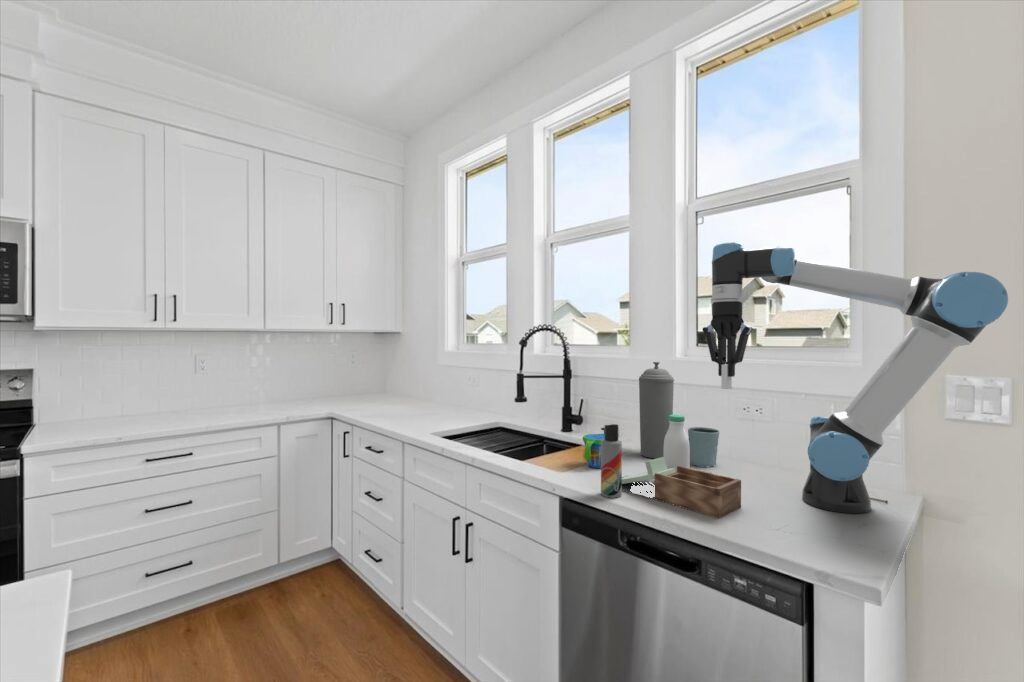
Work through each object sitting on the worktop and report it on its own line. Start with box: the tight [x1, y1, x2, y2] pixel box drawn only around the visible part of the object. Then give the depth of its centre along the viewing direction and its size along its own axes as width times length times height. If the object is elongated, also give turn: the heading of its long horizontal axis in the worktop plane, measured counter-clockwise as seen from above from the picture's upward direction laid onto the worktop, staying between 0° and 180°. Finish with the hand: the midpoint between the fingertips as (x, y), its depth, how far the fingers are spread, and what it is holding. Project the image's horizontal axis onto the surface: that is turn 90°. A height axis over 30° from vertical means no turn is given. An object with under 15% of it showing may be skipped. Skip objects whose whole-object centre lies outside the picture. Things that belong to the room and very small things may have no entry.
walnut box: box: [654, 466, 742, 519], centre depth 129 cm, size 18×12×7 cm, turn 40°
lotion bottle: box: [600, 423, 623, 499], centre depth 136 cm, size 6×6×20 cm
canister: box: [638, 361, 675, 460], centre depth 180 cm, size 13×13×35 cm
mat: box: [622, 475, 655, 499], centre depth 144 cm, size 17×13×1 cm
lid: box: [622, 457, 676, 484], centre depth 142 cm, size 16×10×5 cm, turn 40°
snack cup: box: [582, 433, 605, 469], centre depth 166 cm, size 16×10×10 cm
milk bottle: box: [663, 414, 691, 472], centre depth 150 cm, size 8×8×20 cm
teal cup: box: [687, 426, 720, 467], centre depth 169 cm, size 10×10×12 cm
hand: (726, 388), depth 131 cm, fingers closed
